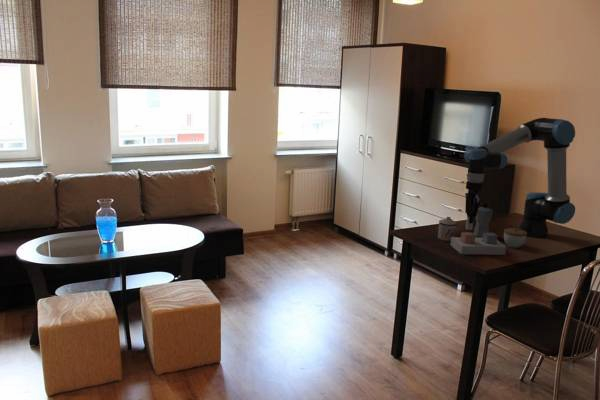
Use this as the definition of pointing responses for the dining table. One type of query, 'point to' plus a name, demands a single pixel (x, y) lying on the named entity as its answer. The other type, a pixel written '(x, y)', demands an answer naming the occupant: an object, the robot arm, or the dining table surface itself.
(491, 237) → the grey key
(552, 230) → the dining table surface
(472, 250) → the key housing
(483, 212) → the coffee maker
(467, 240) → the terracotta key
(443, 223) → the teacup with lid
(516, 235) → the lidded jar
